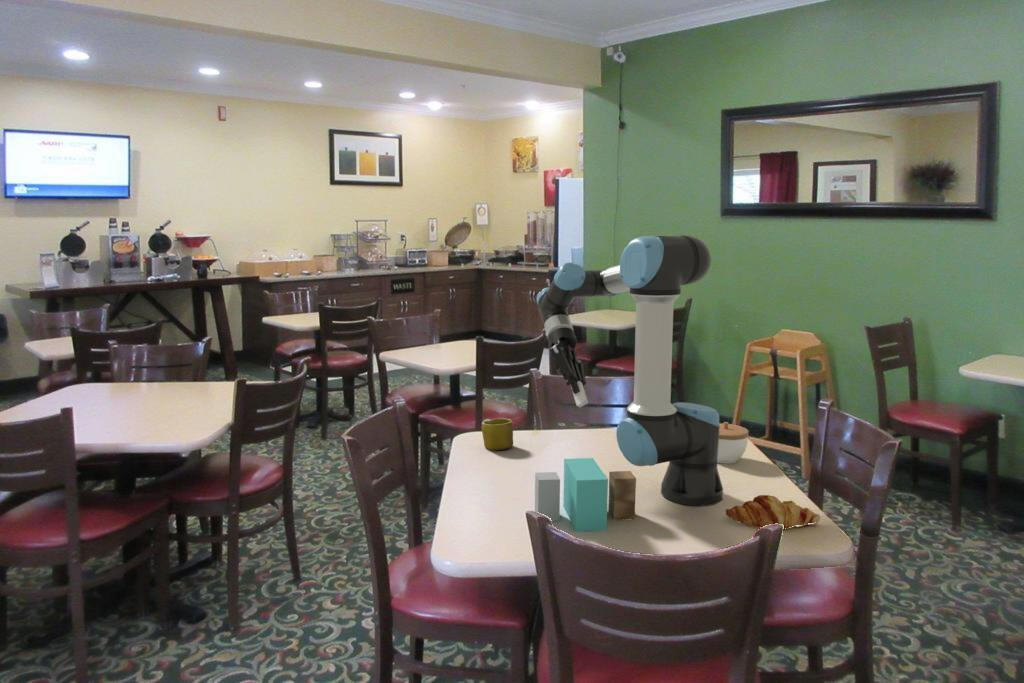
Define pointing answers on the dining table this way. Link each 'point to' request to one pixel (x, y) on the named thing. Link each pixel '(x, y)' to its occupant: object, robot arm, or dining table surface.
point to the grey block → (547, 494)
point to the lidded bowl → (731, 442)
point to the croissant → (771, 513)
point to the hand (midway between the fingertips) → (582, 404)
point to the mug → (497, 434)
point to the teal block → (585, 494)
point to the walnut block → (622, 495)
